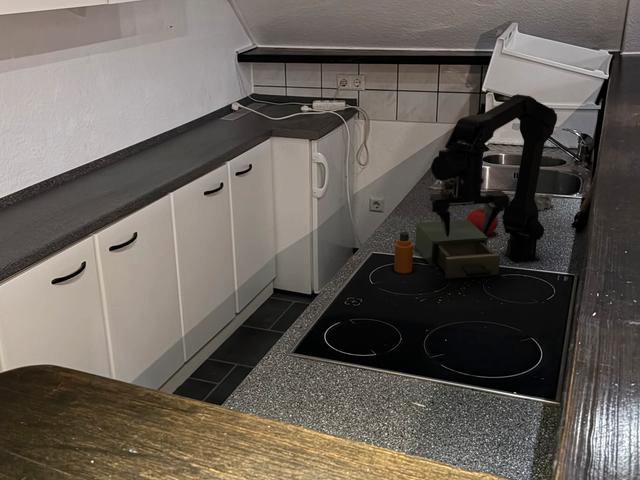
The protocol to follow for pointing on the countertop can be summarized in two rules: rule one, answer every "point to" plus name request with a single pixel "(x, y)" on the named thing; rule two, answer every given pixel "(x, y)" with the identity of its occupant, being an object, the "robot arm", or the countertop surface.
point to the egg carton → (543, 201)
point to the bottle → (403, 254)
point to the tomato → (481, 220)
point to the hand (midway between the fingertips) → (465, 234)
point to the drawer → (466, 259)
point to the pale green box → (444, 236)
